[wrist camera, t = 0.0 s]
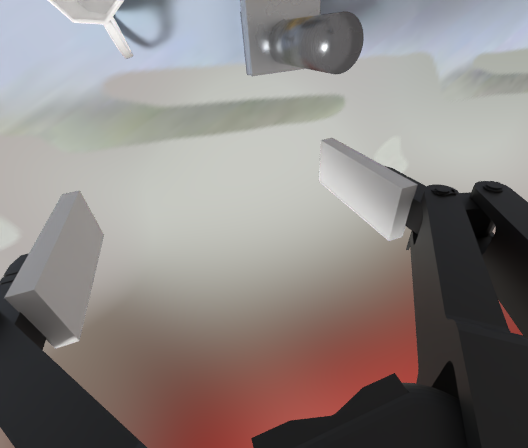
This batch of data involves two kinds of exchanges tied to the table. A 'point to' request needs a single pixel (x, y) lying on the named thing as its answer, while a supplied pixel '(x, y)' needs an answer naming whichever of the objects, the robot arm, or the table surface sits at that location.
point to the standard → (298, 37)
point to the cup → (96, 17)
